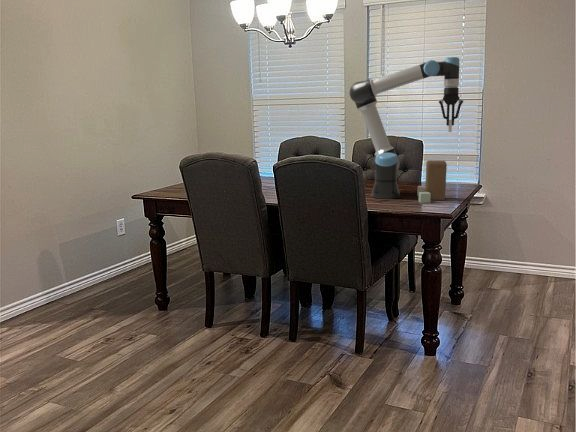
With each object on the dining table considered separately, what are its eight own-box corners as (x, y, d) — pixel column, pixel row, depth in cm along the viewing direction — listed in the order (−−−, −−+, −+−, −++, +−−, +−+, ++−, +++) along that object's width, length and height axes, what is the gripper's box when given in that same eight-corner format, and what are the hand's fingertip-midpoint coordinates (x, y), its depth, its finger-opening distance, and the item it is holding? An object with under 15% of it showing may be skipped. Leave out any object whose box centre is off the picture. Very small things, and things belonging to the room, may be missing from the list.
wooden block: (445, 200, 297) (446, 162, 293) (425, 200, 299) (426, 162, 295) (443, 197, 307) (445, 160, 303) (424, 197, 309) (426, 160, 305)
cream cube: (417, 196, 312) (417, 187, 311) (418, 194, 317) (418, 185, 316) (426, 196, 311) (427, 187, 310) (427, 195, 315) (427, 186, 314)
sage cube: (420, 203, 292) (420, 193, 291) (418, 201, 297) (418, 192, 296) (430, 203, 292) (430, 193, 291) (428, 201, 297) (428, 191, 296)
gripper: (439, 87, 301) (437, 132, 306) (464, 86, 298) (463, 132, 303) (438, 87, 308) (437, 131, 313) (463, 86, 306) (461, 131, 310)
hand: (449, 131), depth 308 cm, fingers closed
